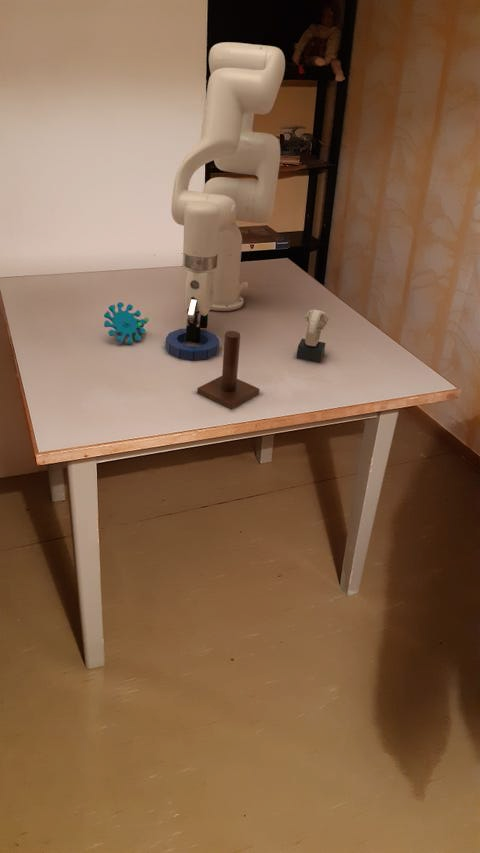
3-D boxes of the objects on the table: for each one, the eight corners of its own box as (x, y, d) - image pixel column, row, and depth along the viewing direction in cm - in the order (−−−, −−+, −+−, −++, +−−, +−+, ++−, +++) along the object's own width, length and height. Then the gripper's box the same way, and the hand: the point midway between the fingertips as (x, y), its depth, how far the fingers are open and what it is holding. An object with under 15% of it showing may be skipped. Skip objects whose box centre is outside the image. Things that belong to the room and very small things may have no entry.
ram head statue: (325, 351, 156) (332, 307, 150) (318, 366, 150) (325, 320, 144) (301, 347, 157) (307, 303, 151) (294, 361, 151) (300, 315, 145)
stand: (225, 378, 141) (229, 320, 134) (259, 393, 137) (265, 334, 130) (197, 393, 135) (199, 333, 128) (231, 409, 131) (236, 348, 124)
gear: (111, 343, 148) (101, 301, 149) (101, 352, 153) (92, 312, 154) (155, 340, 154) (145, 300, 156) (145, 350, 159) (135, 311, 160)
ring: (190, 333, 159) (191, 324, 158) (228, 349, 153) (229, 339, 152) (155, 347, 151) (155, 338, 150) (194, 365, 145) (194, 355, 144)
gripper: (209, 275, 138) (205, 352, 148) (223, 251, 153) (219, 322, 162) (173, 271, 139) (172, 348, 148) (191, 247, 154) (189, 318, 163)
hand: (196, 334), depth 155 cm, fingers open, 7 cm apart
